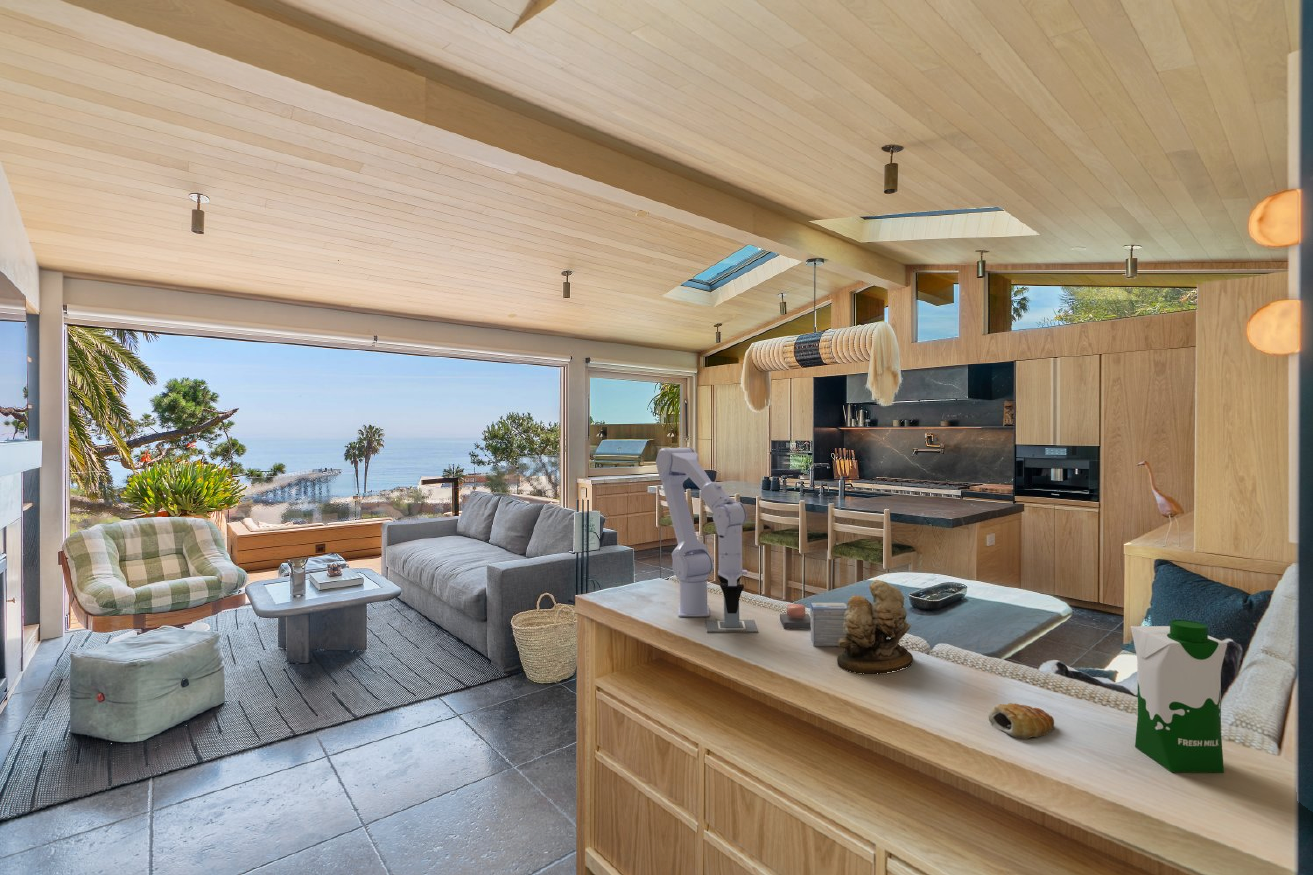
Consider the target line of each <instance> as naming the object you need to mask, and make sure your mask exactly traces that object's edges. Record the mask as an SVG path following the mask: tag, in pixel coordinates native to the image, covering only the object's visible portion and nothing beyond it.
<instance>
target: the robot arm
mask: <svg viewBox="0 0 1313 875" xmlns="http://www.w3.org/2000/svg"><path fill="white" fill-rule="evenodd" d="M655 465H656V468H657V472H658V476H659V477H658V478H659V480H660V481H661V483H662V487H663V491H664V496H665V499H666V500H665V501H666V503H667V507H668V512H669V516H670V519H671V522H672V523H671V524H672V527H673V530H674V534H675V538H676V543H677V546H676V547H675V548H674V549H673V551H672V552H671V558H672V565H671V566H672V571H673V574H674V576H675V577H676V579H677V580H679V604H678V617H710V606H709V605H708V579H710V575H711V574H712V573H713V571H714V568H715V567H714V559H713V557H712V556H711V554H710V552H709V549H708V546H707V545H706V544H705V543H703V542H702V541H701V540H699V539H698V536H697V533H696V529H695V526H694V523H693V518H692V514H691V511H690V508H689V503H688V500H687V496H686V491H685V488H684V486H683V485H684V482H685V481H686V480H688V479H690V481H691V482H693V483H694V484H695V485H696V487H697V488H699V490H700V493H699V494H700V498H701V499H702V501H703V502H704V503H705V504H706V506H707V507H708V508H709V510H710V511H711V512H712V520H713V523H714V525H715V532H716V534H717V535H718V537H717V538H718V539H717V541H718V545H717V546H718V552H717V553H718V570H717V578H718V579H719V581H720V582H719V586H720V589H721V592H722V593H723V598H724V597H725V602H726V608H727V612H728V614H736V613H737V609H738V604H739V605H740V598H741V595H742V592H743V591H744V589H745V585H744V584H743V583H742V584H740V583H739V582H740V580H741V579H742V576H743V575H748V570H747V569H743V531H742V529H743V526H744V525H745V524H746V523H747V522H746V521H747V518H748V514H747V510H746V509H747V508H746V507H745V506H744V504H743V503H742V502H740V501H736V500H735V499H732V498H731V497H730V495H729V494H728V493H727V492H726V491H725V489H724V488H723V485H722V484H721V483H719V482H717V481H712V480H711V479H710V477H709V476H708V474H707V472H706V471H705V470H704V468H703V467H702V465H701V464H700V462H699V454H698V453H697V452H696V450H695V449H694V448H693V447H692V446H687V447H672V448H669V447H668V448H667V447H662V448H660V449H659V450H658V453H657V456H656V459H655Z"/></svg>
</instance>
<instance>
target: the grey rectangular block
mask: <svg viewBox="0 0 1313 875" xmlns="http://www.w3.org/2000/svg"><path fill="white" fill-rule="evenodd" d="M723 620H724V625H725V627H739V620H740V603H739V604H738V609H737V613H736V614H728V612H727V608H726V602H725V597H724V596H723Z"/></svg>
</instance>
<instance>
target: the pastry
mask: <svg viewBox="0 0 1313 875" xmlns="http://www.w3.org/2000/svg"><path fill="white" fill-rule="evenodd" d="M987 718H988V721H989V722H990V723H991V724H992V726H994V727H993V728H995V729H997V730H999V731H1001V732H1003V733H1005V734H1007V735H1009V736H1011V737H1014V738H1019V739H1022V740H1023V739H1024V740H1025V739H1026V740H1027V739H1031V738H1033V737H1034V738H1041V736H1045V735H1047V734H1049V733H1051V732H1053V730H1054V728H1055V720H1054V718H1053V716H1051V715H1050V714H1049V713H1047V712H1046V711H1045V710H1043V709H1041V708H1039V707H1032V706H1028V705H1024V704H1018V703H1011V702H1009V703H1007V704H1001V703H1000V704H998V705H997V706H995V707H994V708H993V710H991V712H990V714H988V716H987Z"/></svg>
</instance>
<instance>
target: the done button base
mask: <svg viewBox="0 0 1313 875" xmlns="http://www.w3.org/2000/svg"><path fill="white" fill-rule="evenodd" d="M779 621H780V624H781V625H782V627H783V629H785V630H787V629H786V628H811V620H810V614H808V613H805V617H803V618H792V617H789V616H787V613H779Z"/></svg>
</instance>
